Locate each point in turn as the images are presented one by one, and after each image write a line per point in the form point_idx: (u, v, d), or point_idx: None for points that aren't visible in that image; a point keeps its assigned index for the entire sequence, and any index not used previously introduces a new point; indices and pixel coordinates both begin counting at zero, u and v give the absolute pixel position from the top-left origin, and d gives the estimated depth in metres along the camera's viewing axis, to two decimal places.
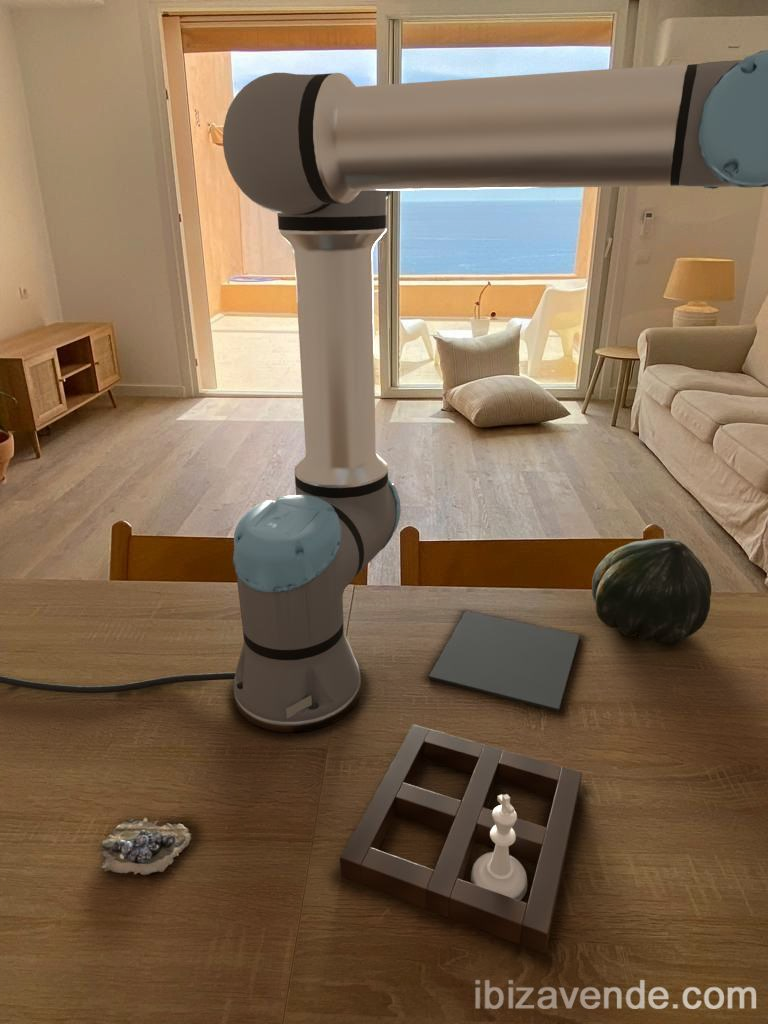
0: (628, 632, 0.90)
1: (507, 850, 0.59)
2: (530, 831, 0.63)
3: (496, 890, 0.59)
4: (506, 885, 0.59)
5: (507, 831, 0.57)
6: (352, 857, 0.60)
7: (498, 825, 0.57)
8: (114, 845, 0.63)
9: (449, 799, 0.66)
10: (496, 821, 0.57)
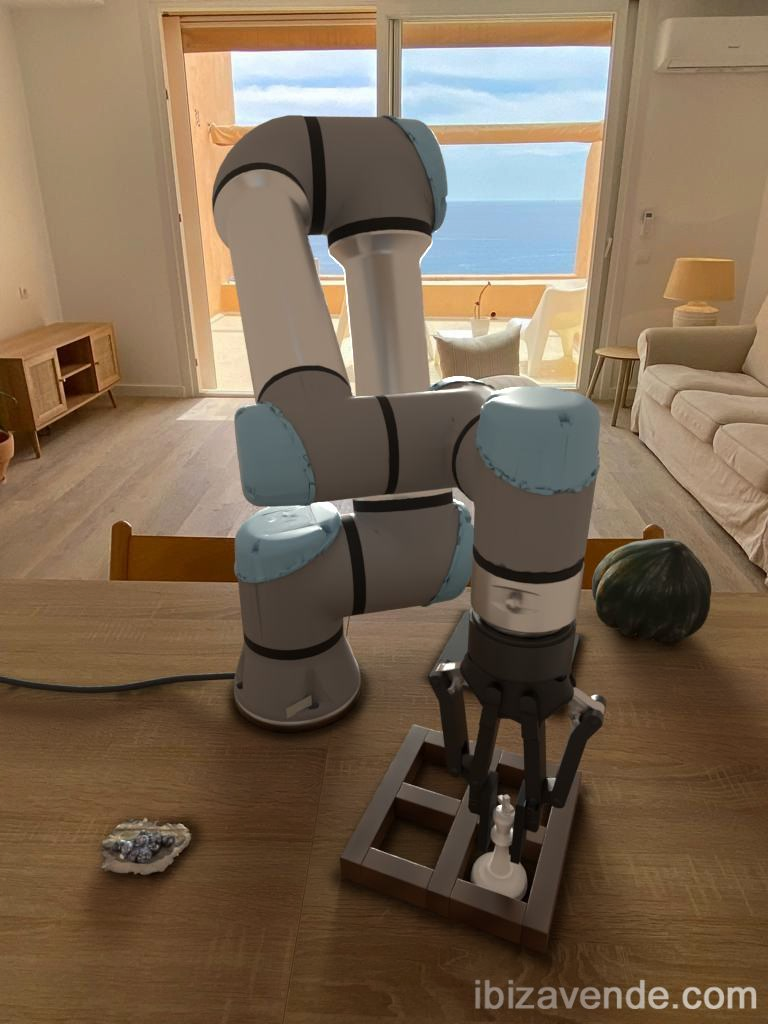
0: (628, 632, 0.90)
1: (507, 850, 0.59)
2: (530, 831, 0.63)
3: (496, 890, 0.59)
4: (506, 885, 0.59)
5: (507, 831, 0.57)
6: (352, 857, 0.60)
7: (498, 825, 0.57)
8: (114, 845, 0.63)
9: (449, 799, 0.66)
10: (496, 821, 0.57)
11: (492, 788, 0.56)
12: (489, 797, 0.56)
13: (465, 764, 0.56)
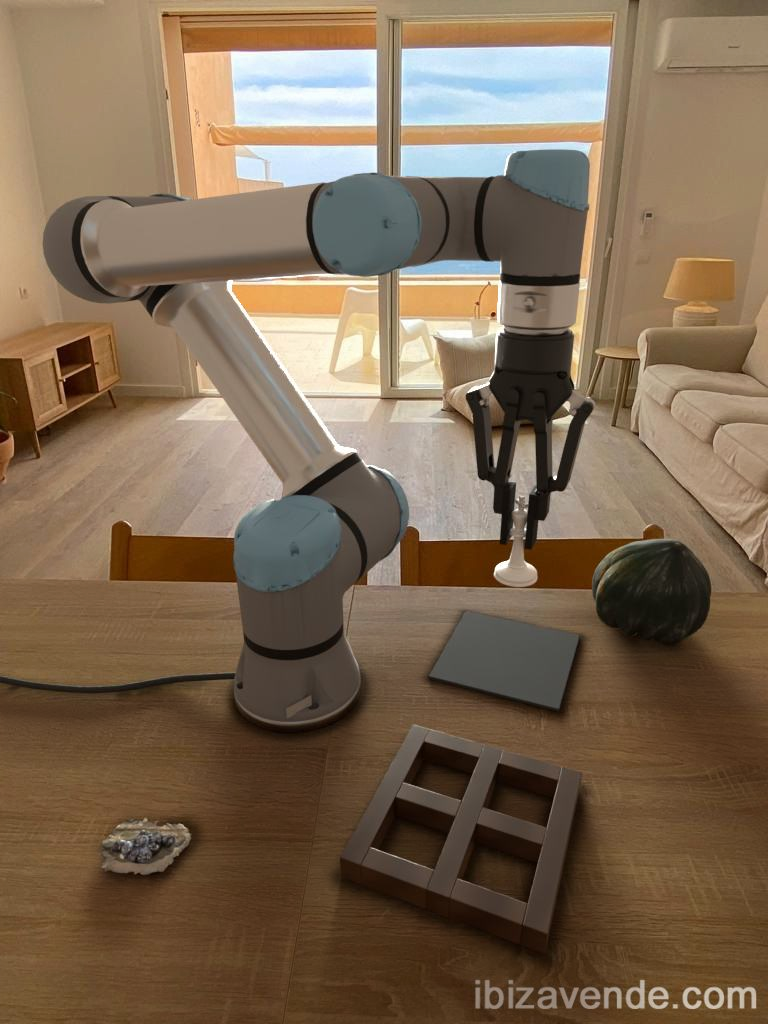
0: (628, 632, 0.90)
1: (522, 545, 0.77)
2: (530, 831, 0.63)
3: (513, 576, 0.78)
4: (521, 573, 0.78)
5: (522, 525, 0.76)
6: (352, 857, 0.60)
7: (516, 519, 0.76)
8: (114, 845, 0.63)
9: (449, 799, 0.66)
10: (514, 516, 0.76)
11: (511, 488, 0.75)
12: (509, 492, 0.74)
13: (491, 470, 0.75)
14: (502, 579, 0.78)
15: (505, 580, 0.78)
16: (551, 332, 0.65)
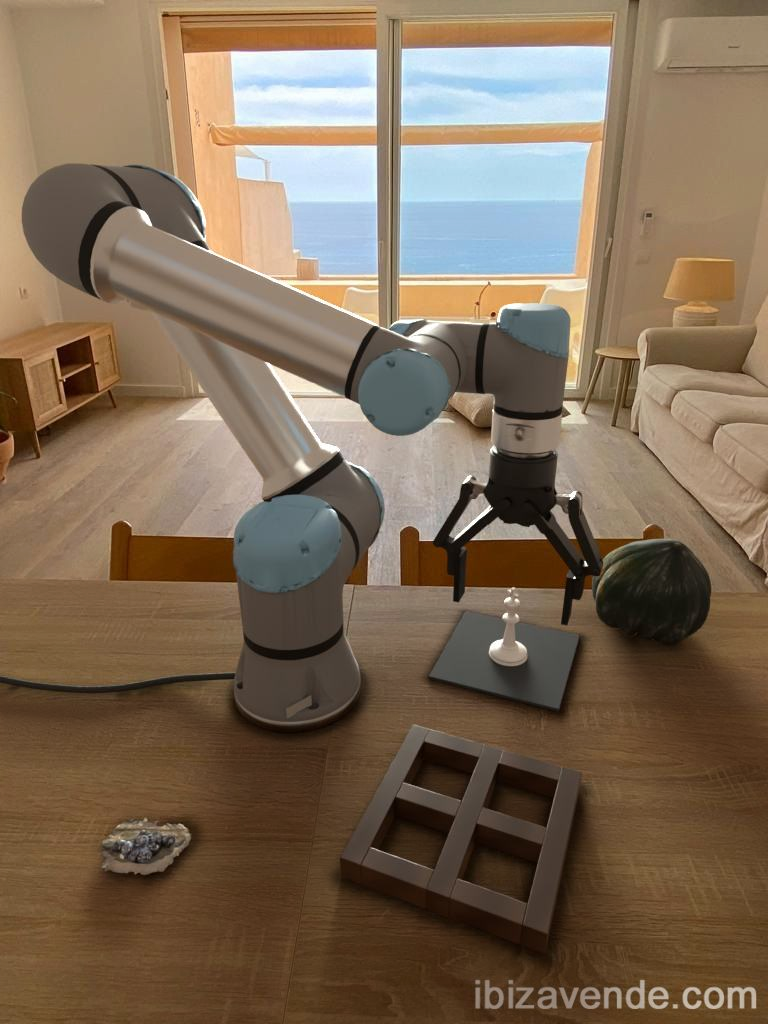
0: (628, 632, 0.90)
1: (514, 629, 0.88)
2: (530, 831, 0.63)
3: (506, 656, 0.88)
4: (513, 653, 0.88)
5: (514, 613, 0.87)
6: (352, 857, 0.60)
7: (508, 608, 0.86)
8: (114, 845, 0.63)
9: (449, 799, 0.66)
10: (506, 605, 0.86)
11: (462, 554, 0.86)
12: (460, 558, 0.86)
13: None
14: (496, 659, 0.88)
15: (499, 660, 0.88)
16: (538, 455, 0.75)
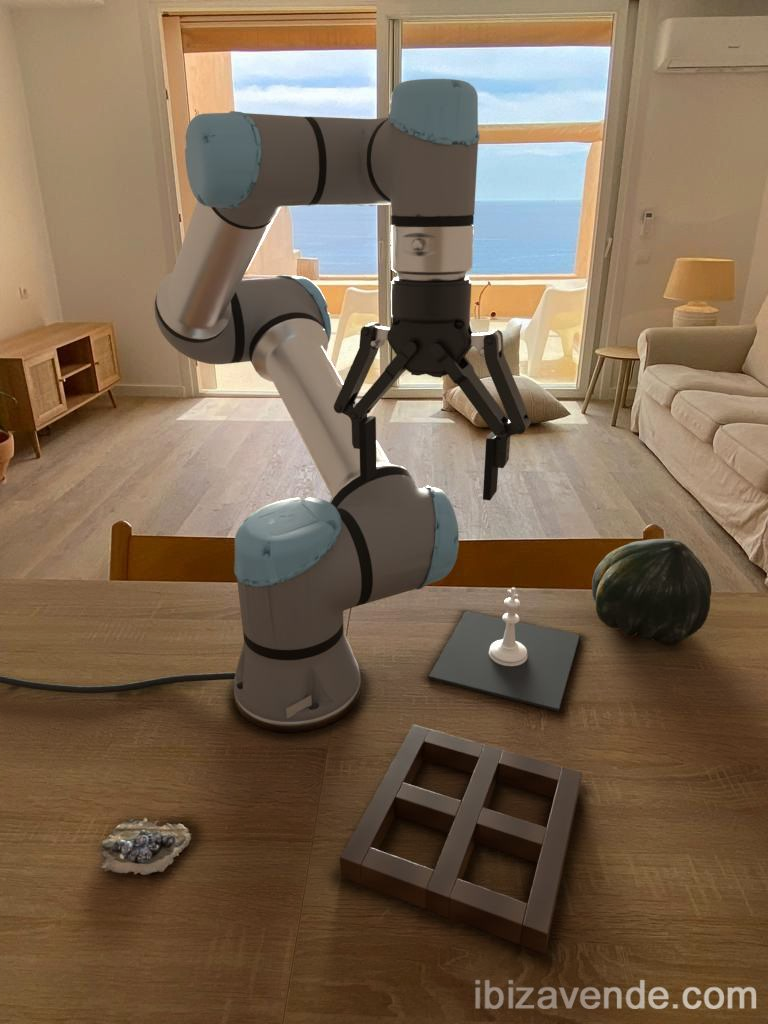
0: (628, 632, 0.90)
1: (514, 629, 0.88)
2: (530, 831, 0.63)
3: (506, 656, 0.88)
4: (513, 653, 0.88)
5: (514, 613, 0.87)
6: (352, 857, 0.60)
7: (508, 608, 0.86)
8: (114, 844, 0.63)
9: (449, 799, 0.66)
10: (506, 605, 0.86)
11: (368, 421, 0.73)
12: (365, 424, 0.72)
13: (347, 403, 0.73)
14: (496, 659, 0.88)
15: (499, 660, 0.88)
16: (444, 278, 0.62)
